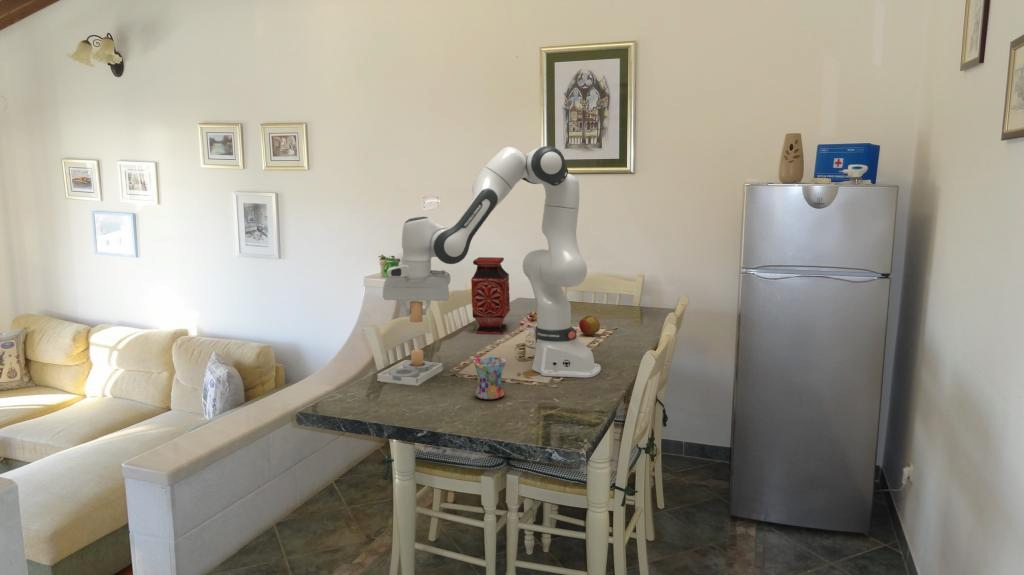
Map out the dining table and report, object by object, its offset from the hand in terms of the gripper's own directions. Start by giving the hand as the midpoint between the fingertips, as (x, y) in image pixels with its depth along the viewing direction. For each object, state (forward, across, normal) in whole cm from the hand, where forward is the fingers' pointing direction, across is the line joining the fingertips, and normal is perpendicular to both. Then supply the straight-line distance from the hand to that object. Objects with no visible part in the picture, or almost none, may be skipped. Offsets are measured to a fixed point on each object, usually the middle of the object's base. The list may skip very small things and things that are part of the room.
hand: (416, 314), depth 208 cm
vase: (+19, -28, -65) cm, 74 cm away
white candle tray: (+21, +2, -5) cm, 22 cm away
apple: (+18, -66, -52) cm, 86 cm away
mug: (+21, -22, +17) cm, 35 cm away
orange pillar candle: (+2, 0, 0) cm, 2 cm away
